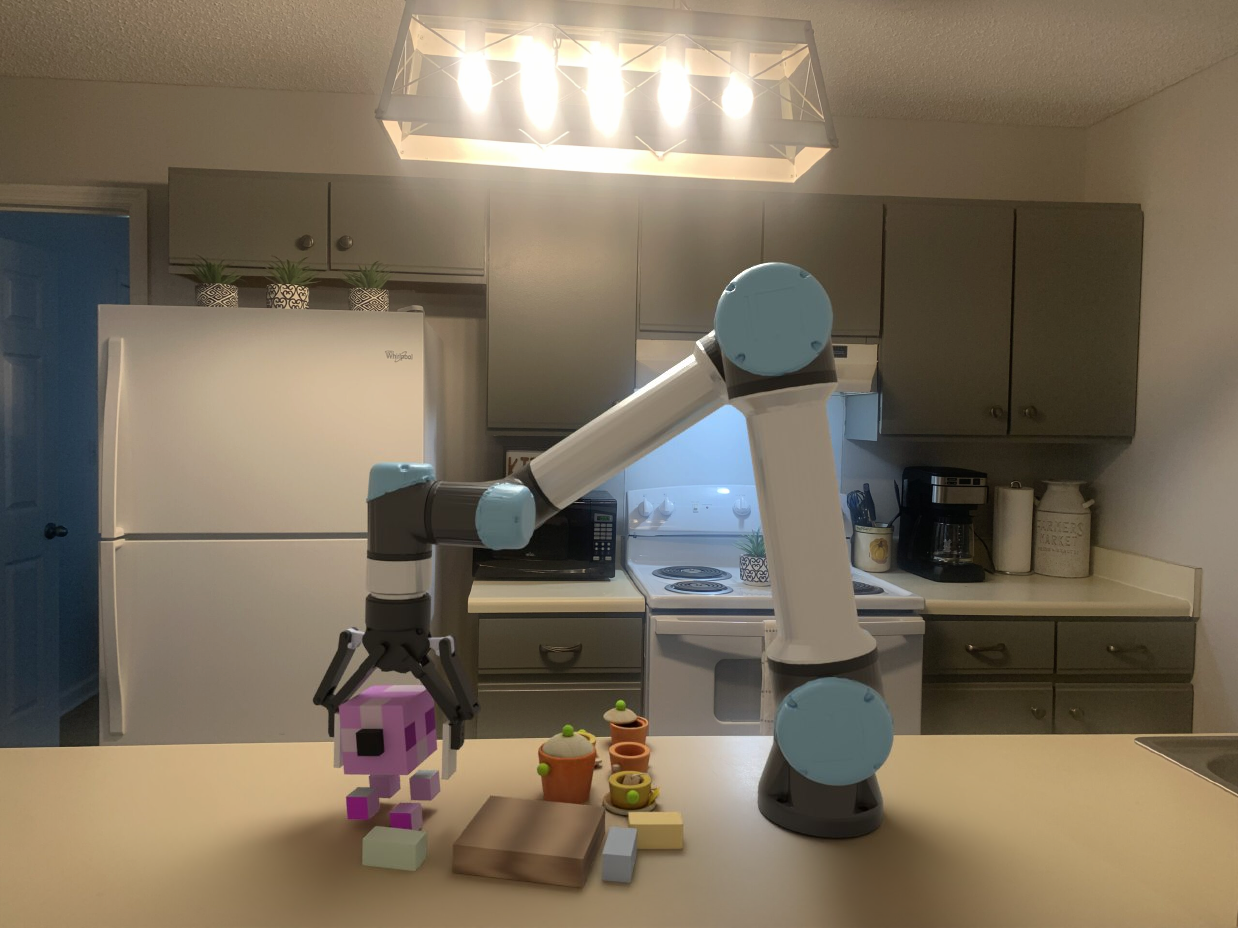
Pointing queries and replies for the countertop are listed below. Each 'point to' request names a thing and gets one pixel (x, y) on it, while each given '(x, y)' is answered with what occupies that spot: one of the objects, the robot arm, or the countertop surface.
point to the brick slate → (619, 854)
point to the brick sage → (394, 848)
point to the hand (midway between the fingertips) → (395, 769)
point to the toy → (389, 750)
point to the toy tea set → (575, 757)
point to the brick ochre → (657, 829)
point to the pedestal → (531, 841)
